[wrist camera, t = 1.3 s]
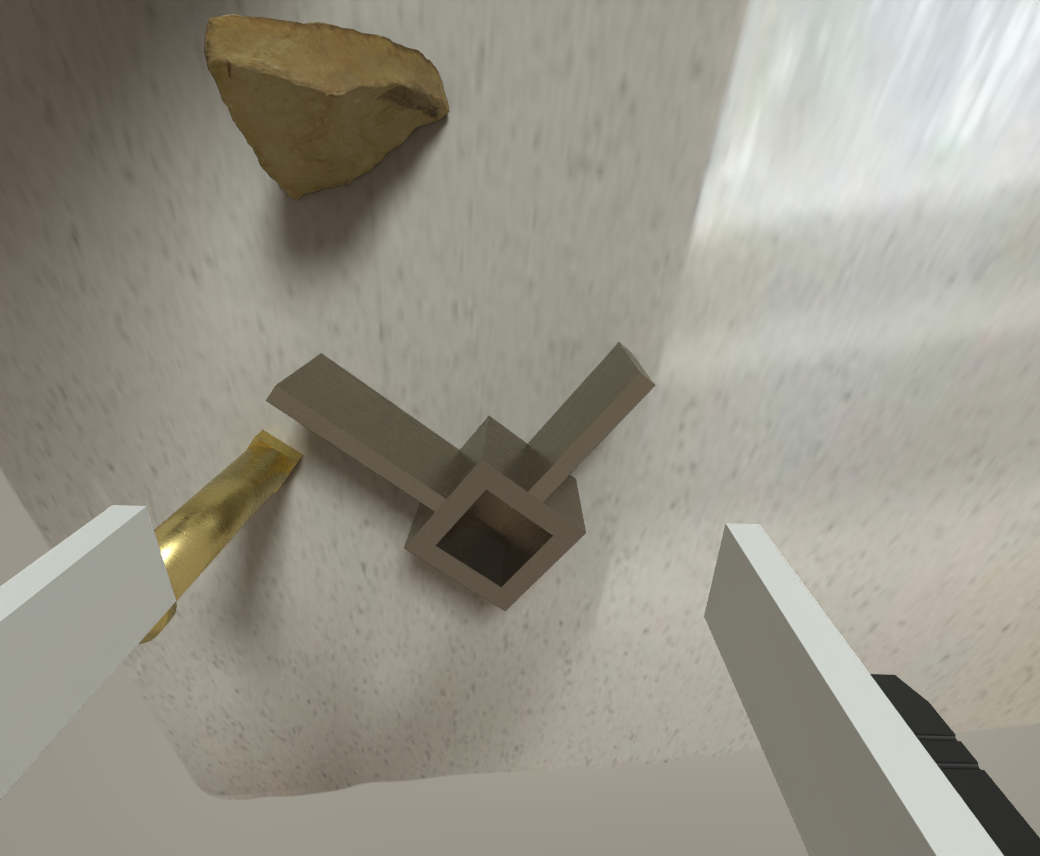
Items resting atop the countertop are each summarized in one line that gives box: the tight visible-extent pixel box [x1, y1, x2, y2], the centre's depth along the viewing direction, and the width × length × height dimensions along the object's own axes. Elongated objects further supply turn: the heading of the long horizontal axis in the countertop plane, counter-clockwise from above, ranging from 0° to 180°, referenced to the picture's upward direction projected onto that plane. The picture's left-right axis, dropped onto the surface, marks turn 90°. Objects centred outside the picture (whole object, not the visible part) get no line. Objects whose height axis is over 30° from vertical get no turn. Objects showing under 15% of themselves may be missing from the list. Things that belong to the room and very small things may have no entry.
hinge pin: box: [139, 430, 303, 644], centre depth 31 cm, size 4×4×16 cm
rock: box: [204, 14, 449, 200], centre depth 27 cm, size 11×9×10 cm
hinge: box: [266, 343, 655, 611], centre depth 33 cm, size 20×18×7 cm
